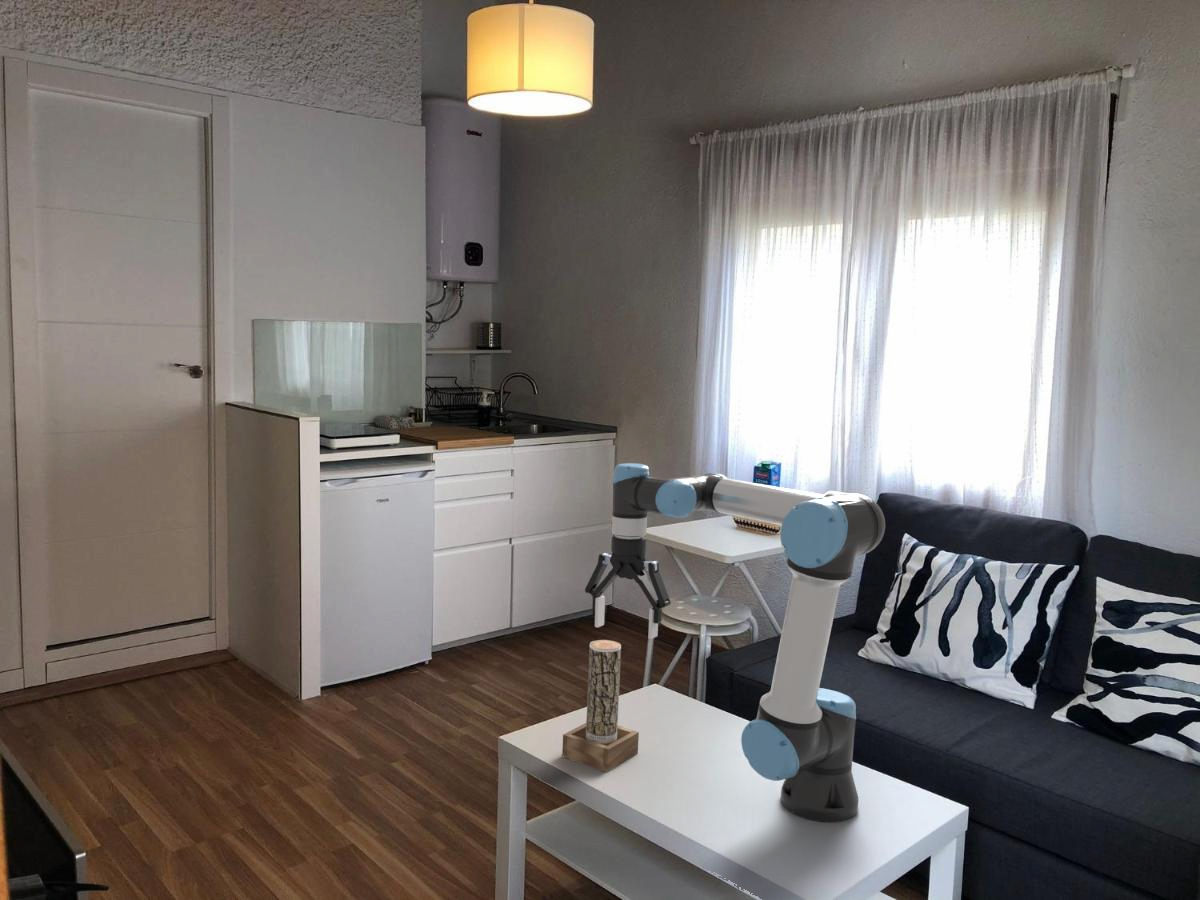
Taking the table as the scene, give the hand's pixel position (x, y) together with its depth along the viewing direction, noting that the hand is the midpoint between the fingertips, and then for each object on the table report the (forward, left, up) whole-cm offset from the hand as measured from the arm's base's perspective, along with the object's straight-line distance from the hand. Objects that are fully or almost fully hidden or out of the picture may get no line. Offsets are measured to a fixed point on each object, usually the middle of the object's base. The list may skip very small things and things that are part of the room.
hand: (625, 631), depth 219 cm
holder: (+3, +4, -28) cm, 28 cm away
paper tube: (+2, +4, -28) cm, 28 cm away
